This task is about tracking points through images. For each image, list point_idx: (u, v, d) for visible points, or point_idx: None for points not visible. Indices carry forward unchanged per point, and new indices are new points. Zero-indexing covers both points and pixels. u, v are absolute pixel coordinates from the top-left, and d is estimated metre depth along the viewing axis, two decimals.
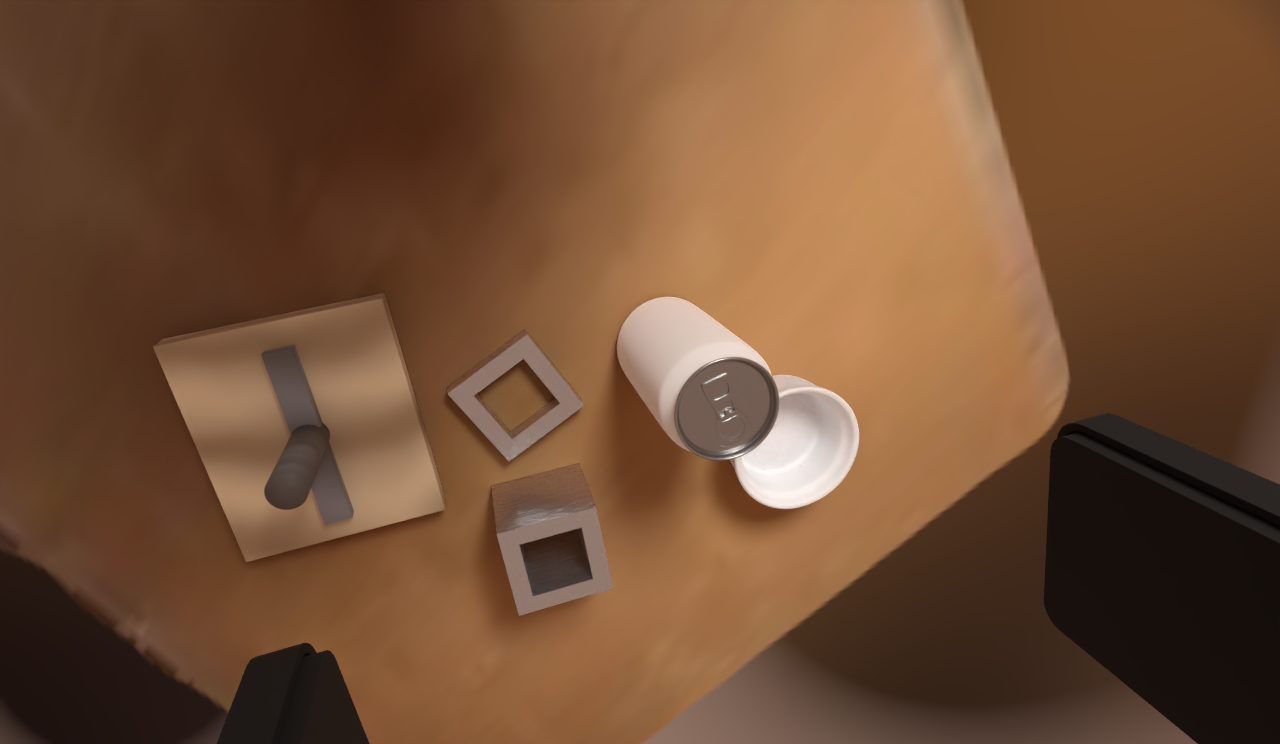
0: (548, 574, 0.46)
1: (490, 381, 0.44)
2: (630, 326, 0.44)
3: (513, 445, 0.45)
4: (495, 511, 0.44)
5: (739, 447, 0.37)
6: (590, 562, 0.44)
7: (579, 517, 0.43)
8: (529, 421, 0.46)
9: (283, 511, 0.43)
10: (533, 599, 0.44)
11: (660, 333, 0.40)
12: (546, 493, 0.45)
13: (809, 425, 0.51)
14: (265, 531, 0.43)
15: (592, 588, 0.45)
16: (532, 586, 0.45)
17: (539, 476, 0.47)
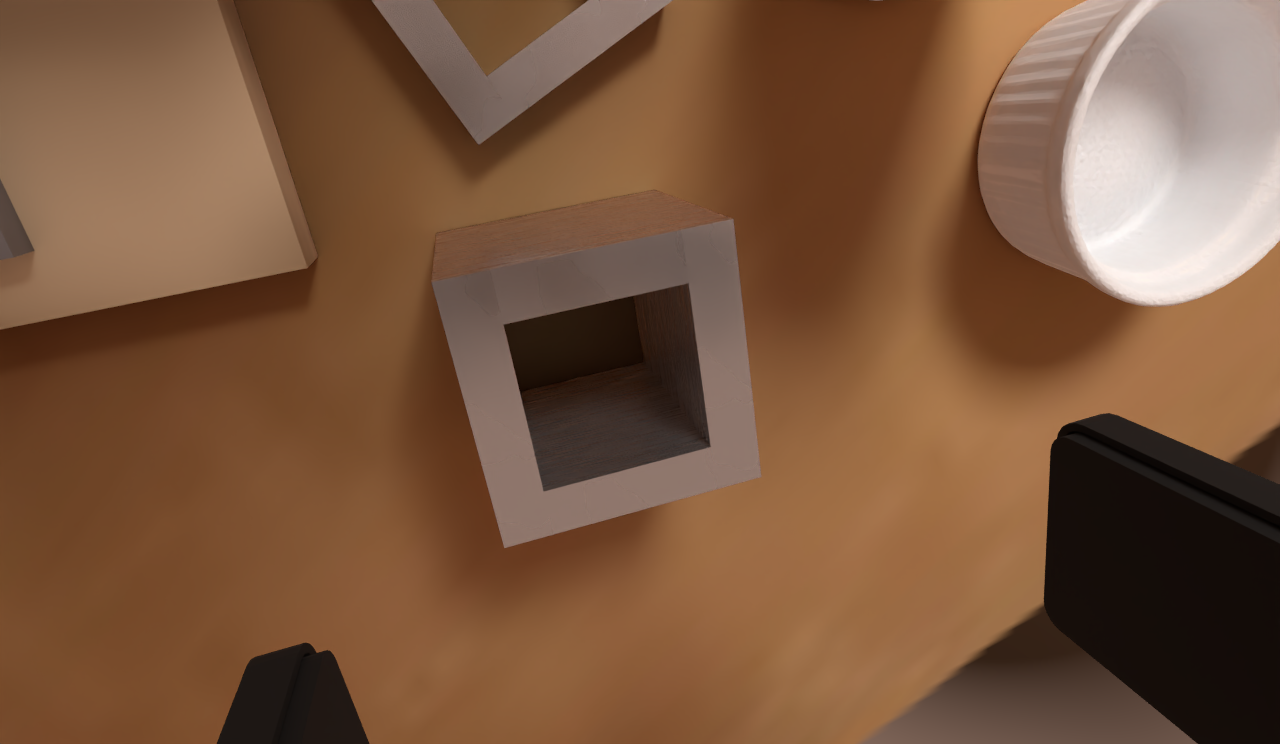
0: (584, 443, 0.17)
1: None
2: None
3: (489, 97, 0.17)
4: (438, 255, 0.16)
5: None
6: (706, 397, 0.16)
7: (683, 248, 0.14)
8: None
9: None
10: (545, 500, 0.15)
11: None
12: (579, 222, 0.17)
13: (1166, 137, 0.23)
14: None
15: (707, 475, 0.16)
16: (542, 469, 0.16)
17: (558, 211, 0.19)
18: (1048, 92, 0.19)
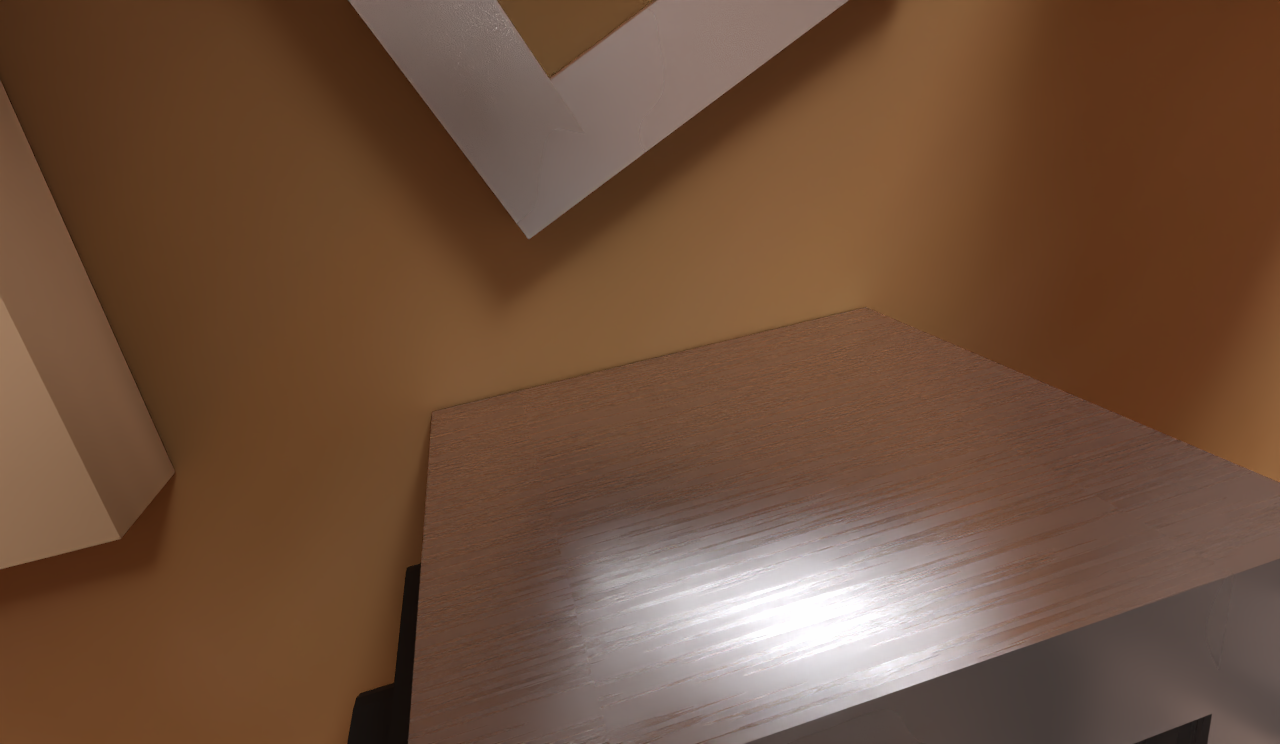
0: None
1: None
2: None
3: (555, 130, 0.07)
4: (432, 557, 0.06)
5: None
6: None
7: (1221, 622, 0.04)
8: (654, 0, 0.08)
9: None
10: None
11: None
12: (775, 431, 0.07)
13: None
14: None
15: None
16: None
17: (684, 361, 0.09)
18: None
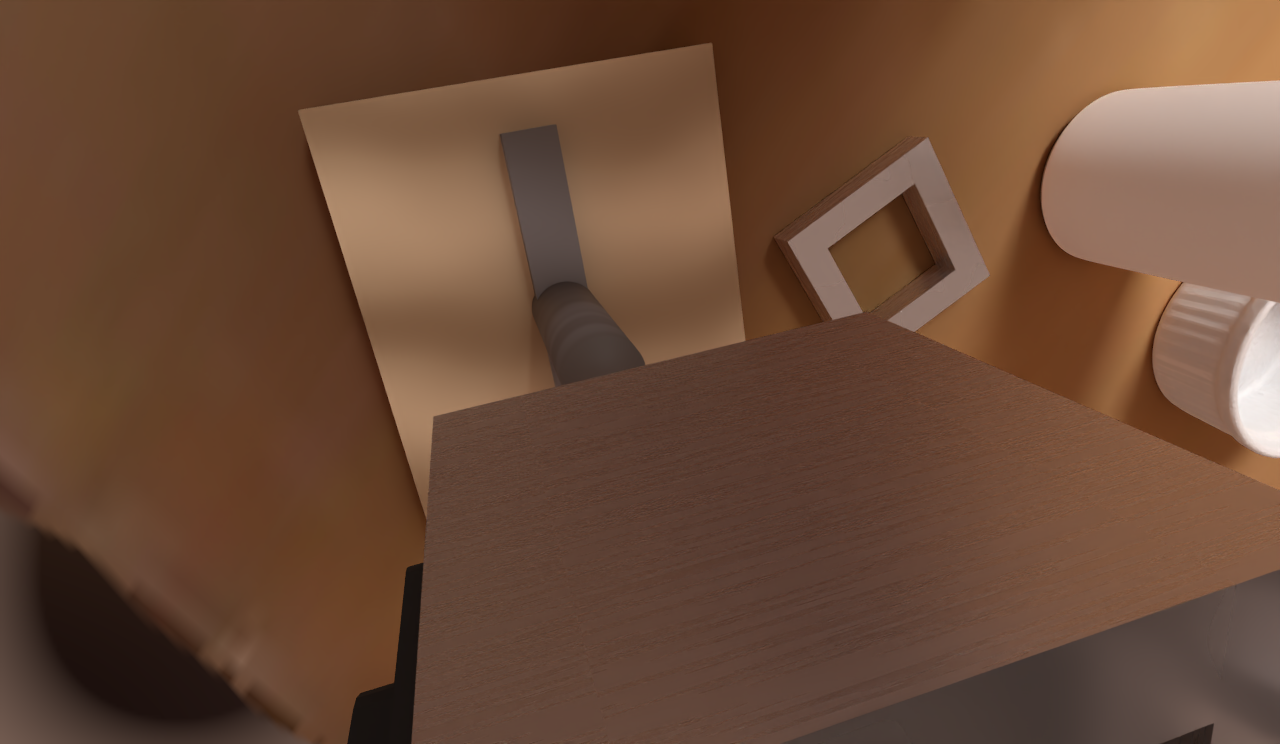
0: None
1: (857, 222, 0.25)
2: (1098, 128, 0.25)
3: None
4: (434, 565, 0.06)
5: None
6: None
7: (1224, 632, 0.04)
8: (895, 303, 0.27)
9: None
10: None
11: (1246, 103, 0.21)
12: (776, 438, 0.07)
13: None
14: None
15: None
16: None
17: (685, 366, 0.09)
18: (1217, 323, 0.28)
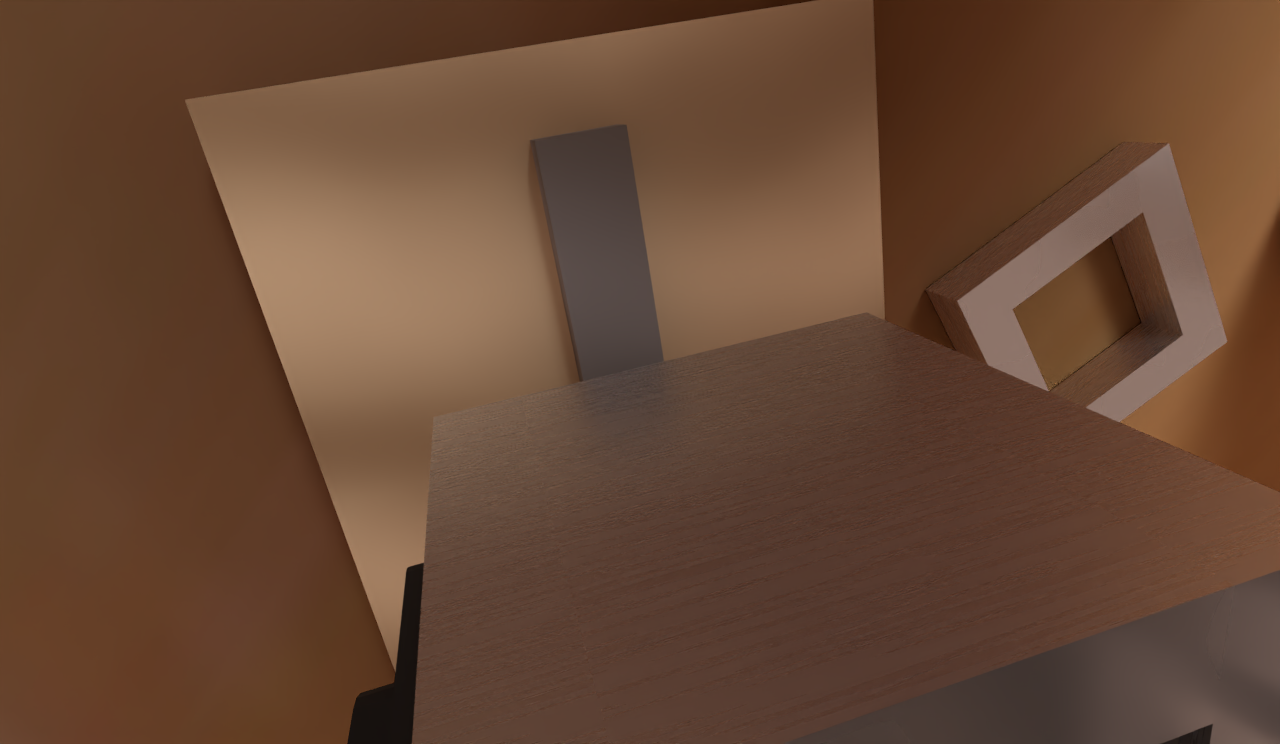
0: None
1: (1058, 271, 0.17)
2: None
3: None
4: (434, 566, 0.06)
5: None
6: None
7: (1221, 632, 0.04)
8: (1089, 381, 0.19)
9: None
10: None
11: None
12: (776, 439, 0.07)
13: None
14: None
15: None
16: None
17: (685, 367, 0.09)
18: None
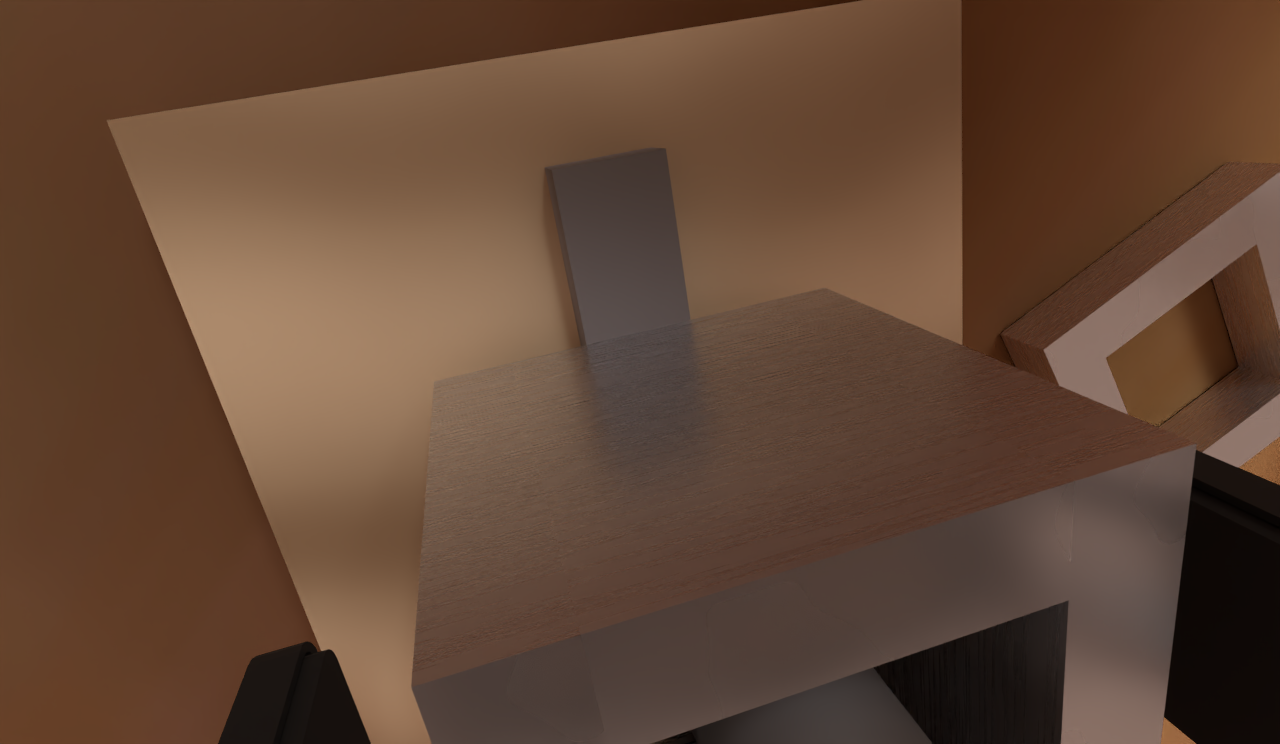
0: None
1: (1159, 313, 0.14)
2: None
3: None
4: (435, 491, 0.07)
5: None
6: None
7: (1070, 521, 0.05)
8: (1182, 434, 0.16)
9: None
10: None
11: None
12: (730, 389, 0.08)
13: None
14: None
15: None
16: None
17: (659, 335, 0.10)
18: None
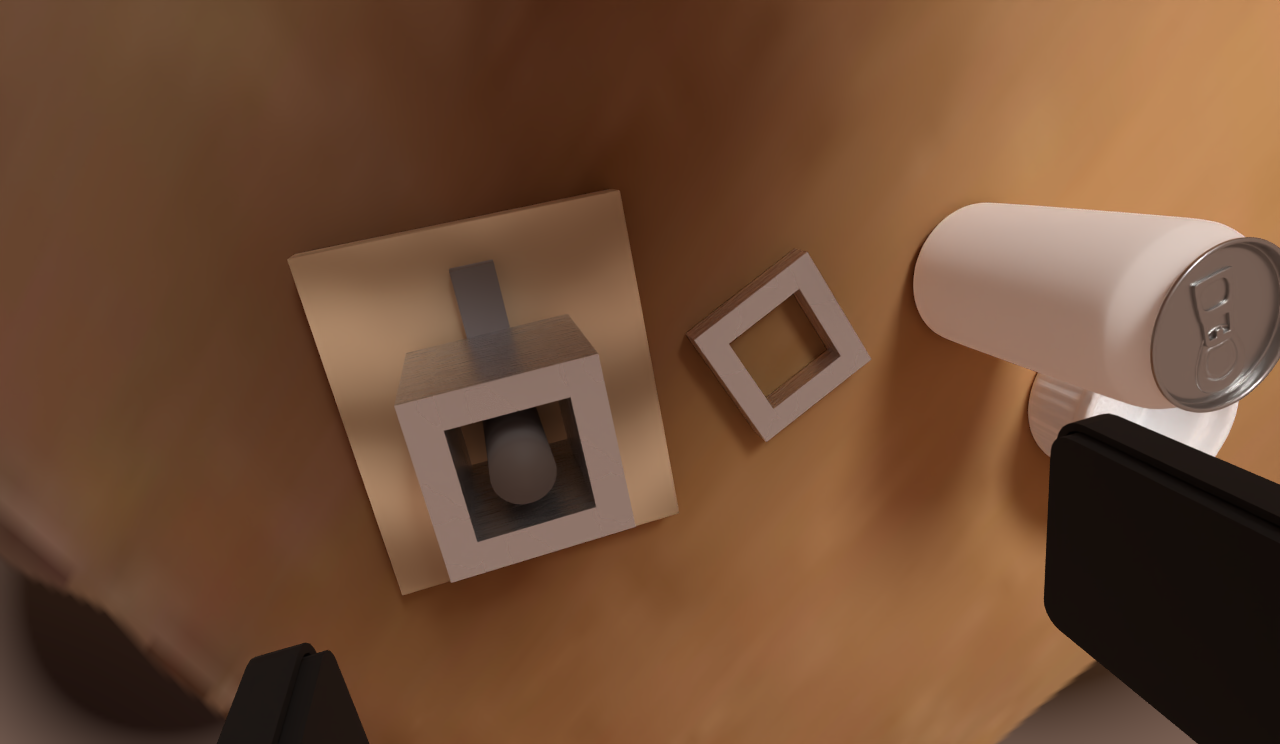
0: (511, 505, 0.24)
1: (753, 322, 0.30)
2: (950, 239, 0.31)
3: (773, 418, 0.32)
4: (403, 379, 0.23)
5: (1222, 392, 0.23)
6: (590, 472, 0.22)
7: (565, 374, 0.21)
8: (793, 384, 0.32)
9: None
10: (479, 548, 0.22)
11: (1045, 231, 0.26)
12: (503, 349, 0.24)
13: None
14: (432, 547, 0.29)
15: (595, 527, 0.23)
16: (479, 526, 0.23)
17: (494, 333, 0.26)
18: (1071, 392, 0.34)
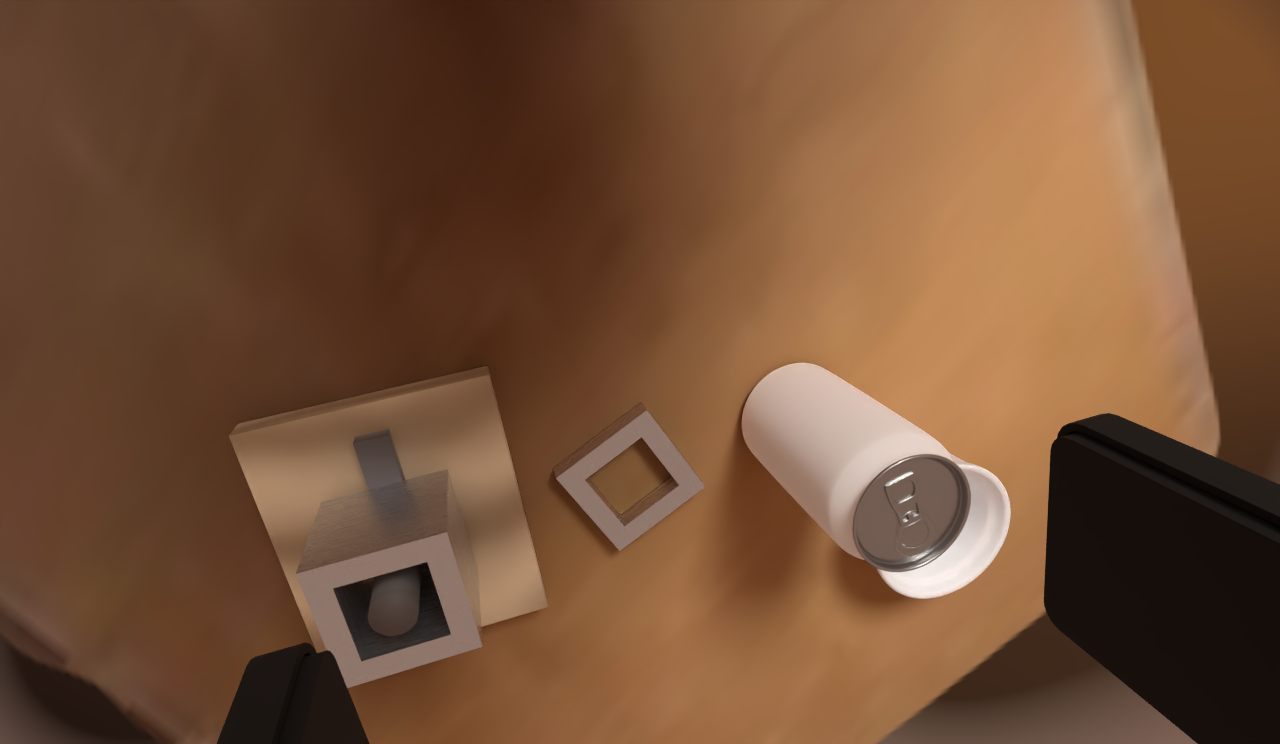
0: None
1: (604, 463, 0.38)
2: (763, 399, 0.38)
3: (625, 533, 0.40)
4: (310, 538, 0.31)
5: (920, 555, 0.32)
6: (445, 611, 0.31)
7: (422, 546, 0.29)
8: (643, 504, 0.40)
9: None
10: (362, 665, 0.30)
11: (813, 415, 0.34)
12: (388, 511, 0.32)
13: None
14: None
15: (451, 648, 0.31)
16: (366, 645, 0.31)
17: (389, 487, 0.34)
18: None
